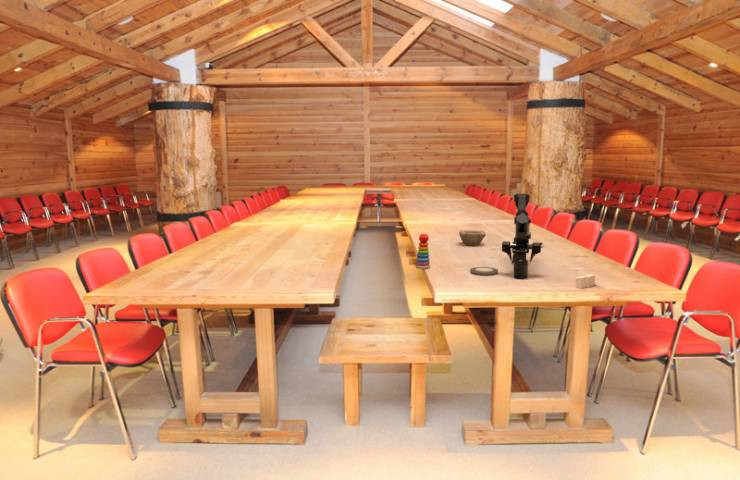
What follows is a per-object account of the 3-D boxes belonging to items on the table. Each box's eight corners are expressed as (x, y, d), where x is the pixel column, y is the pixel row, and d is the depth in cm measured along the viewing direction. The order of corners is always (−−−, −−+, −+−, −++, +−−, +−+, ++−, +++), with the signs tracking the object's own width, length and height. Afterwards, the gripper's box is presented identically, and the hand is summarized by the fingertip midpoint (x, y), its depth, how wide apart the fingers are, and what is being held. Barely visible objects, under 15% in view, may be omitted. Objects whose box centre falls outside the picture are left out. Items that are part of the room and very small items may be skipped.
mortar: (484, 243, 368) (484, 229, 367) (485, 247, 352) (486, 233, 350) (458, 242, 371) (459, 229, 369) (459, 247, 354) (459, 233, 353)
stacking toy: (418, 270, 288) (418, 234, 285) (413, 266, 295) (413, 232, 292) (432, 269, 290) (432, 234, 287) (426, 266, 297) (427, 232, 294)
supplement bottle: (525, 275, 272) (525, 252, 270) (529, 279, 266) (530, 254, 264) (511, 276, 272) (512, 252, 270) (515, 279, 266) (516, 255, 264)
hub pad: (490, 269, 289) (490, 265, 288) (503, 274, 275) (503, 271, 275) (465, 270, 285) (465, 267, 285) (477, 276, 272) (477, 273, 271)
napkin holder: (593, 284, 257) (594, 272, 256) (605, 290, 246) (606, 277, 245) (562, 284, 256) (563, 272, 255) (573, 290, 245) (573, 278, 244)
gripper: (502, 225, 273) (501, 250, 264) (541, 226, 268) (541, 252, 259) (502, 238, 282) (501, 263, 273) (540, 239, 277) (540, 265, 268)
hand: (520, 261), depth 268 cm, fingers open, 9 cm apart
